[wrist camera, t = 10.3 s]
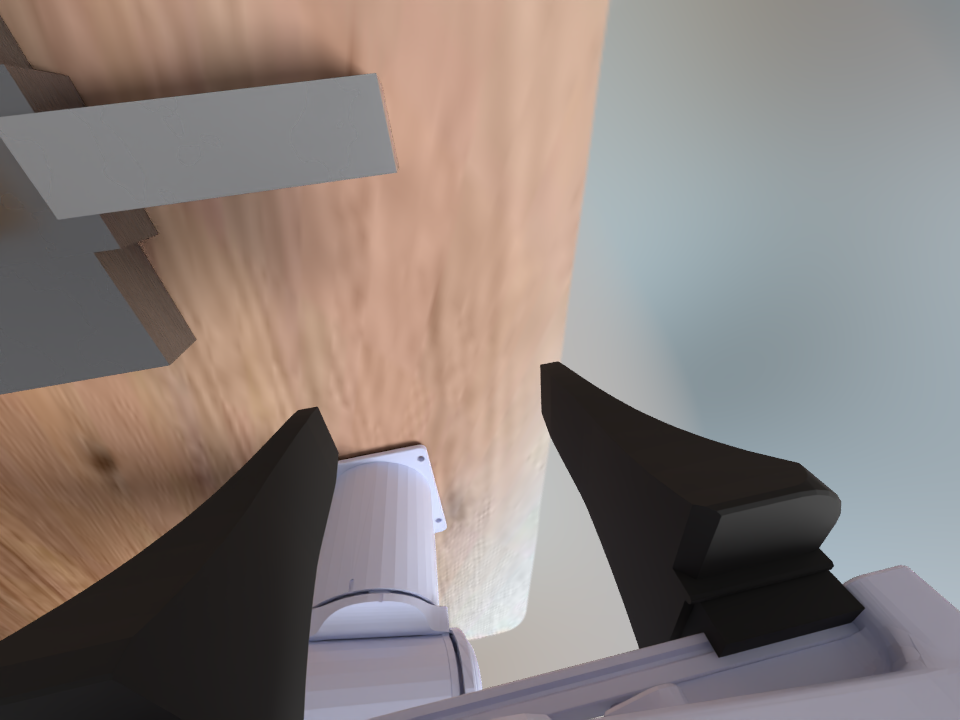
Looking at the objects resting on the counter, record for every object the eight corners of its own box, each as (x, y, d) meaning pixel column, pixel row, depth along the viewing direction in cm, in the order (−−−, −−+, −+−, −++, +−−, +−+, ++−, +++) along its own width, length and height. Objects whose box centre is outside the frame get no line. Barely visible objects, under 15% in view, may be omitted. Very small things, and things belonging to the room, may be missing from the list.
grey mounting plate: (426, 301, 20) (428, 324, 17) (-127, 394, 18) (-216, 436, 15) (328, -176, 11) (305, -267, 9) (-761, -109, 9) (-1209, -204, 7)
